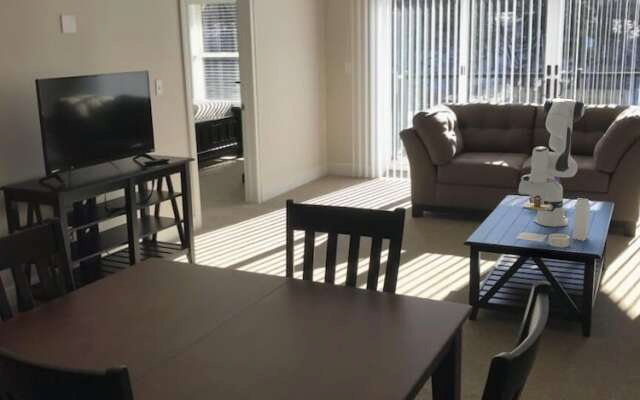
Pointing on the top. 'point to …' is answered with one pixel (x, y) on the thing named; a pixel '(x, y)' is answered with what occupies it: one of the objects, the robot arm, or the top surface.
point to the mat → (531, 236)
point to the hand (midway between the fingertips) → (537, 203)
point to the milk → (581, 219)
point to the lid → (537, 206)
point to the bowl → (559, 240)
